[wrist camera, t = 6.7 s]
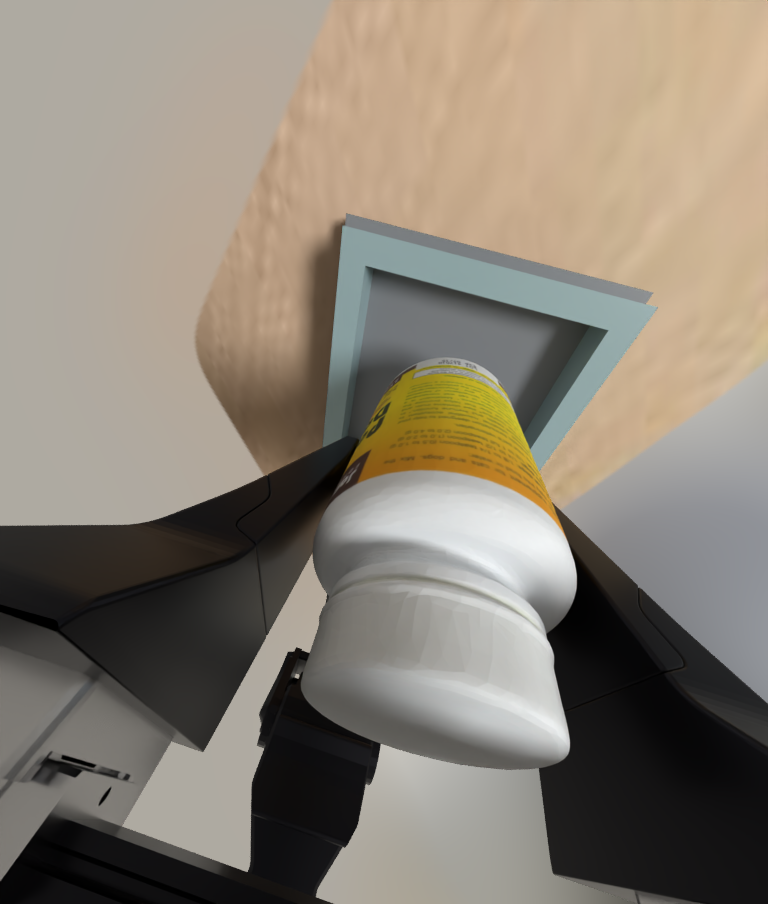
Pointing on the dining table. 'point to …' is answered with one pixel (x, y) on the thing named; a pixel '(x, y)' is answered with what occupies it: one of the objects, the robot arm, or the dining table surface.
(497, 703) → the supplement bottle
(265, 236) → the dining table surface
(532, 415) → the tray
